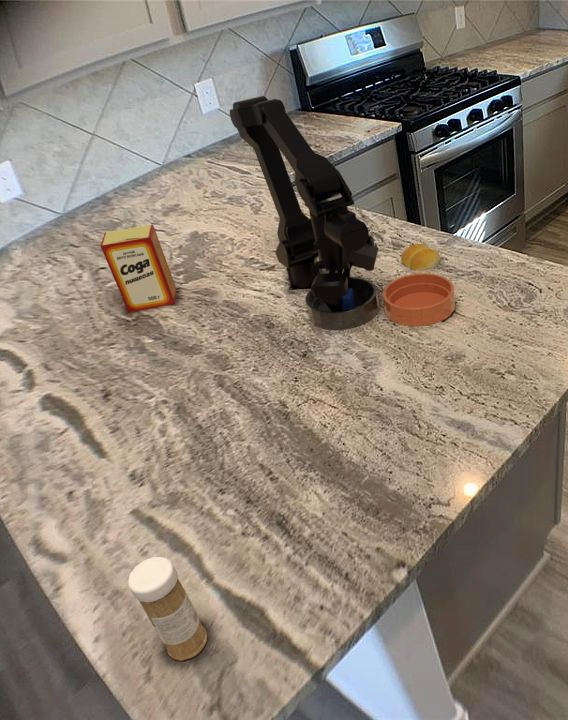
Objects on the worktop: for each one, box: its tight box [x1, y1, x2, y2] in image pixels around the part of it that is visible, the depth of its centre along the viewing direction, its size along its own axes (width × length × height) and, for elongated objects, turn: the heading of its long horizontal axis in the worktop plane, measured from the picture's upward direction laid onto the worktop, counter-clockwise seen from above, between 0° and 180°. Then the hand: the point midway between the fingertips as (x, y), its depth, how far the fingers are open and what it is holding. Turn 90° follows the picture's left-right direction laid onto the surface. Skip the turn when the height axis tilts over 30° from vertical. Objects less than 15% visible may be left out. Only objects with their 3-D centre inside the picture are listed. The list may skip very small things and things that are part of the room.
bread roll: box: [400, 243, 441, 272], centre depth 150 cm, size 8×9×4 cm
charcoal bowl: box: [304, 276, 380, 331], centre depth 134 cm, size 14×14×4 cm
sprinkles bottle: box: [127, 556, 208, 662], centre depth 73 cm, size 5×5×13 cm
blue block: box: [343, 288, 355, 311], centre depth 134 cm, size 4×4×4 cm
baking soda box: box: [100, 224, 177, 313], centre depth 139 cm, size 10×6×16 cm
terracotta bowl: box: [382, 272, 456, 327], centre depth 133 cm, size 14×14×4 cm
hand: (343, 304), depth 134 cm, fingers open, 9 cm apart
